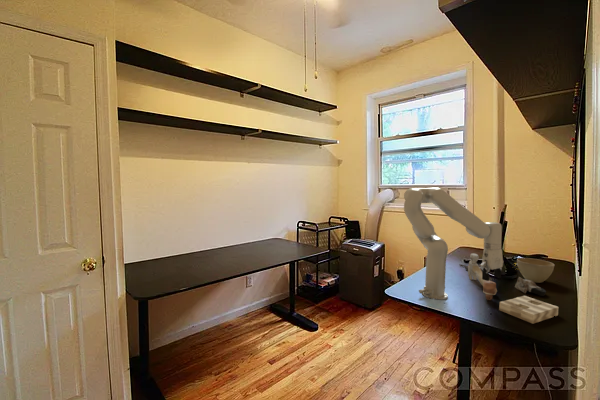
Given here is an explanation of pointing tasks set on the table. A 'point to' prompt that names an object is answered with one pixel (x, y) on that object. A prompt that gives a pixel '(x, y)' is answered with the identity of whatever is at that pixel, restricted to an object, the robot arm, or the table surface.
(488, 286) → the peg
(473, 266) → the hammer
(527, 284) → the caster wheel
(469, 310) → the table surface
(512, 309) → the board
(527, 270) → the white bowl
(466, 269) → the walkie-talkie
